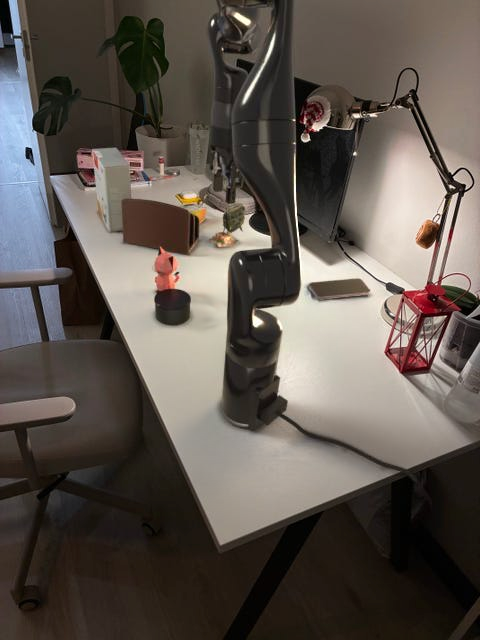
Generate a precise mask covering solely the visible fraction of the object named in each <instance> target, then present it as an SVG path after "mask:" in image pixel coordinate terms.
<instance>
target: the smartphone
mask: <svg viewBox="0 0 480 640" xmlns="http://www.w3.org/2000/svg"><path fill="white" fill-rule="evenodd" d="M308 288H309V289H310V291H311V292H312V294H313V296H314V297H315V298H316V299H317V300H327V299H340V298H348V297H349V298H350V297H359V296H368V295H370V294H371V289H370V288H369V286H368V285H367V284H366V283H365V281H364V280H363V279H362V278H357V277H356V278H346V279H345V278H344V279H335V280H321V281H312V282H309V284H308Z"/></svg>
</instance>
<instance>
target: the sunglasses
mask: <svg viewBox="0 0 480 640" xmlns="http://www.w3.org/2000/svg"><path fill="white" fill-rule="evenodd" d="M182 207H183V208H184V207H196V209H192V210H188V211H189V212H190V213H192V214H194V215H196V216H198V218H199V225H200V224H202V223H203V222H204V221H205V219H206V217H207V207H206V206H203V205H201V204H197V203H186V204H182Z"/></svg>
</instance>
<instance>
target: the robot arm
mask: <svg viewBox="0 0 480 640" xmlns="http://www.w3.org/2000/svg"><path fill="white" fill-rule="evenodd" d="M215 2H216V6H217V8H218V9H217V11H215V12H213V13H212V14H211V15H210V16H209V18H208V20H207V23H206V29H205V30H206V38H207V43H208V47H209V48H208V49H209V51H210V52H209V53H210V56H211V62H212V73H213V91H212V102H211V103H212V104H211V110H210V114H211V115H210V133H209V142H210V143H209V163H208V164H209V170H210V171H211V173H212V176H213V180H212V182H213V183H212V184H213V185H212V190H213V192H215V193H219V192H221V193H222V192H223V184H224V179H225V180H226V185H227V187H226V192H225V203H226V205H227V204H228V205H232V204H235V203H237V202H236V200H237V189H240V188H243V184H244V183H245V185H246V186H247V187H248V189H249V190H250V192H251V193H252V195H253V197H254V198H255V199H256V201H257V202H258V204H259V206H260V208H261V210H262V211H263V214H264V215H265V218H266V220H267V225H268V228H269V234H270V241H271V245H270V246H271V247H267V248H266V247H265V248H254V249H245V250H238V251H235V252H234V253H233V254H232V255H231V256H230V259H229V263H228V269H227V304H226V306H227V307H226V340H225V351H224V362H223V363H224V364H223V365H224V366H223V379H222V391H221V393H222V394H221V401H220V413H221V415H222V417H223V418H224V419H225V420H226V422H228V423H229V424H231V425H233V426H235V427H237V428H242V429H243V428H244V429H249V430H251V431H252V432H254V431H256V430H257V429H258V428H260V427H261V426H262V425H265V426H269V425H270V424H272V422H274V421H275V420H277V419H278V417H279V418H281V419H282V420H284V421H285V422H287V423H289V424H290V425H291V426H293V427H294V428H295V429H296V430H297V431H299V433H300V434H301V433H302V434H303V435H304V436H307V437H309V438H312V439H315V440H319V441H322V442H326V443H330V444H334V445H337V446H339V447H342V448H344V449H347V450H349V451H350V452H351V451H352V452H354V453H355V454H357V455H359V456H361V457H363V458H365V459H367V460H369V461H371V462H373V463H375V464H377V465H379V466H382V467H384V468H387V469H390V470H394V471H398V472H400V473H403V474H404V475H406V476H408V477H409V478H410V479H411V481H412V482H414V483H418V482H419V481H418V480H419V479H417V477H416V475H415V474H414V473H412V472H411V471H410V470H409V469H406V468H405V467H402V466H399V465H397V464H396V465H395V464H392V463H388V462H385V461H383V460H380V459H378V458H376V457H374V456H372V455H370V454H368V453H366V452H364V451H363V450H360V449H358V448H356V447H354V446H352V445H350V444H348V443H347V442H346V443H345V442H343V441H340V440H337V439H334V438H331V437H326V436H323V435H319V434H316V433H313V432H311V431H308V430H306V429H305V428H303V427H302V426H301V425H300V424H298V423H297V422H296V421H294V420H293V419H291V418H290V417H288V416H287V415H285V414H284V413H285V412H286V411H287V407H288V402H289V400H288V399H287V398H285V397H283V396H281V394H279V389H280V382H281V376H280V375H278V374H277V370H278V365H279V364H278V363H279V357H280V353H281V346H282V339H283V331H284V330H283V326H282V325H283V324H282V323H281V321H280V320H279V318H278V317H276V316H275V315H273V314H272V313H271V312H268V311H266V310H264V309H272V308H278V307H285V306H290V305H293V304H295V303H297V301H298V299H299V298H300V295H301V292H302V291H301V290H302V282H303V281H302V277H303V271H302V270H303V269H302V258H301V246H300V236H299V226H298V215H297V213H298V212H297V192H296V191H297V189H296V188H297V187H296V186H297V185H296V181H297V179H296V177H297V176H296V175H297V174H296V171H297V170H296V168H297V167H296V164H297V163H296V160H297V159H296V158H297V123H296V121H297V119H296V98H295V73H294V72H295V70H294V69H295V68H294V42H295V20H296V19H295V18H296V15H295V14H296V0H215ZM261 8H265V9H266V8H269V9H270V22H269V25H268V30H267V33H266V37H265V40H264V42H263V44H262V47H261V49H260V51H259V53H258V56H257V58H256V60H255V62H254V64H253V66H252V68H251V70H250V71H249V73H248V71H247V70H246V69H245V68H241V67H238V66H236V65H232V64H230V63H228V61H227V60H226V59H225V54H226V55H236V56H237V55H238V56H251V55H254V54H255V53H256V52H257V51H258V50H259V48H260V46H261V42H262V26H261V21H260V15H261ZM278 394H279V395H278Z"/></svg>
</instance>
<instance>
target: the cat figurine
mask: <svg viewBox="0 0 480 640" xmlns="http://www.w3.org/2000/svg"><path fill="white" fill-rule="evenodd" d="M153 265H154V266H153V269H154V272H155V273H156V274H157V276H155V277H154V283H155V284H156V286H155V287H156V288H157V289H156V291H155V294H157V293H158V292H160V291H162V290H165V289H175V285H176V283H177V282H179V279H180V276H179V274H180V272H179V271H176V270H177V269H178V267H179V262H178V261H177V259H176V257H175V256H174V255H173V254H171V253H167V251H165V250H163V249H162V248H161V247H160V246H159V249H158V253H157V257H155V261H154V264H153ZM174 272H175V273H174ZM173 273H174V274H173ZM173 276H174V277H175V279H174V277H173Z"/></svg>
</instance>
